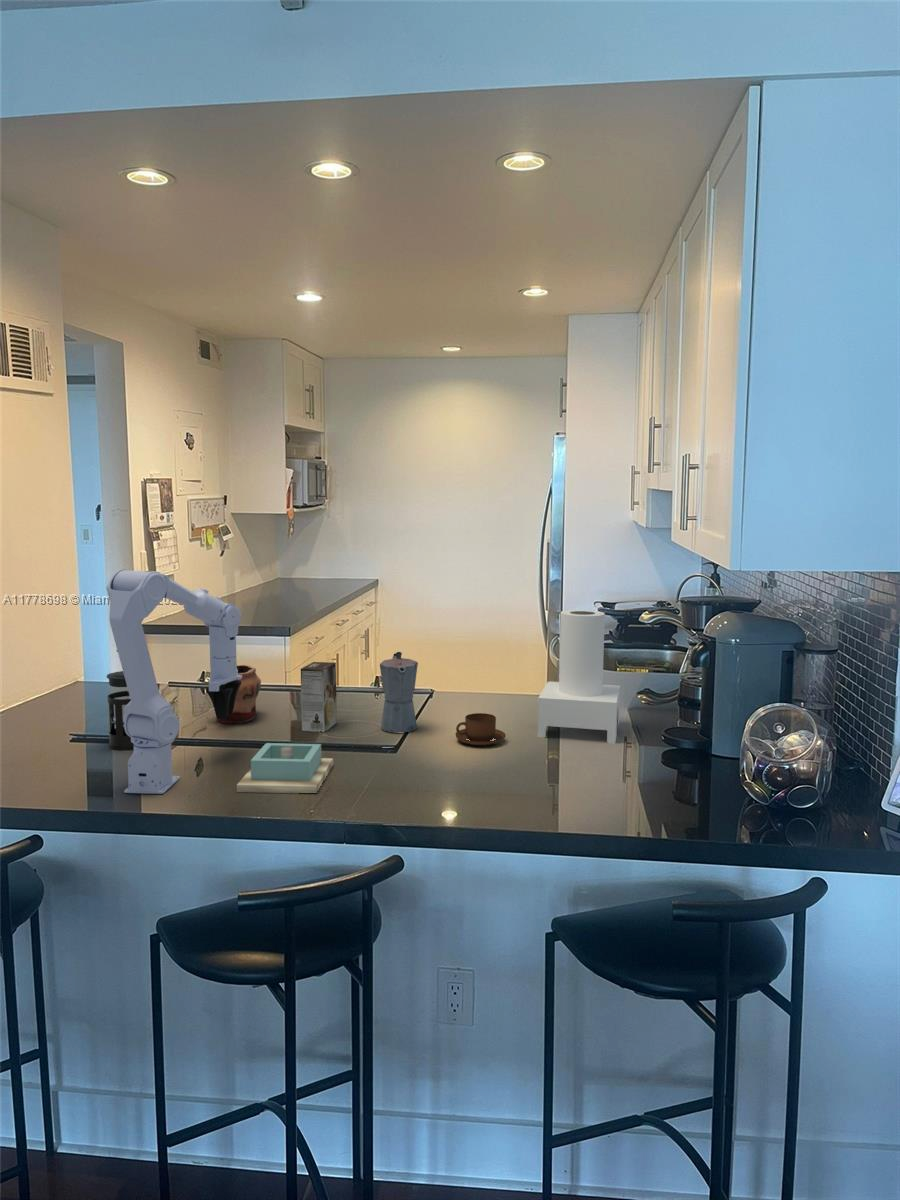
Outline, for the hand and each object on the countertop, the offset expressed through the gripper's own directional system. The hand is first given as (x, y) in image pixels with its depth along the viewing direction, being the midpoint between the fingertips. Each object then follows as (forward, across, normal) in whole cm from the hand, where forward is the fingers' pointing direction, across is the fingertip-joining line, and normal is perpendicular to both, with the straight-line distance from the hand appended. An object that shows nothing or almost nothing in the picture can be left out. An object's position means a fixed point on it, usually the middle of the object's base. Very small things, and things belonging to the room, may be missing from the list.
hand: (224, 715), depth 193 cm
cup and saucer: (+10, +16, -57) cm, 60 cm away
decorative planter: (+10, +29, +7) cm, 32 cm away
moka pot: (+10, +26, -36) cm, 45 cm away
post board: (+9, -14, -17) cm, 24 cm away
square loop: (+8, -13, -17) cm, 23 cm away
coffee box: (+10, +26, -16) cm, 32 cm away
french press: (+10, +7, +25) cm, 28 cm away
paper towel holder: (+10, +28, -82) cm, 87 cm away
